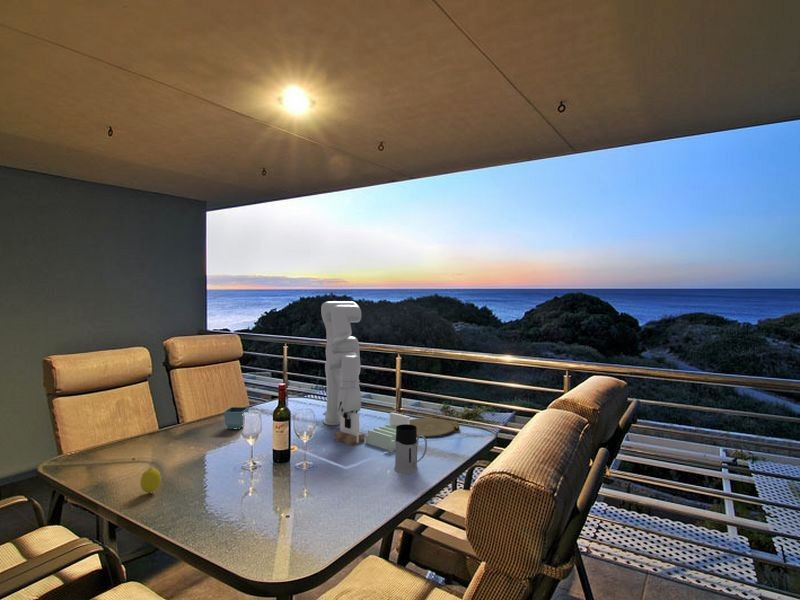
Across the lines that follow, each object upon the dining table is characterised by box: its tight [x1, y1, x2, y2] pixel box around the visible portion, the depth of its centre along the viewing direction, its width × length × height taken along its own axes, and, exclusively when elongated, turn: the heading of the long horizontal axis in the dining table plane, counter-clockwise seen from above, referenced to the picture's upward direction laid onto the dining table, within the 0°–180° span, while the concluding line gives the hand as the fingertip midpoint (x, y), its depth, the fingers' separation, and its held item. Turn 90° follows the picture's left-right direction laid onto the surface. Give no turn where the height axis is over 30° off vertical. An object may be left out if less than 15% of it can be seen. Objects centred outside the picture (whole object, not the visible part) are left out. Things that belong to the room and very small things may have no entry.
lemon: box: [140, 467, 162, 493], centre depth 135 cm, size 6×6×8 cm
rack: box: [364, 412, 411, 453], centre depth 184 cm, size 14×17×11 cm
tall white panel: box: [339, 412, 360, 443], centre depth 184 cm, size 10×2×12 cm, turn 49°
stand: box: [333, 430, 366, 447], centre depth 184 cm, size 12×8×4 cm, turn 49°
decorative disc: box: [410, 417, 460, 438], centre depth 205 cm, size 29×3×30 cm
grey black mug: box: [393, 424, 428, 475], centre depth 154 cm, size 9×14×15 cm, turn 44°
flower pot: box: [223, 406, 250, 430], centre depth 203 cm, size 9×9×9 cm
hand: (349, 426), depth 184 cm, fingers closed on tall white panel, 1 cm apart
